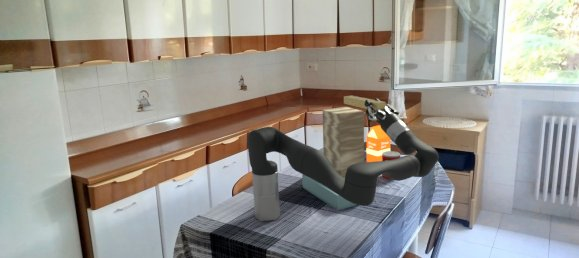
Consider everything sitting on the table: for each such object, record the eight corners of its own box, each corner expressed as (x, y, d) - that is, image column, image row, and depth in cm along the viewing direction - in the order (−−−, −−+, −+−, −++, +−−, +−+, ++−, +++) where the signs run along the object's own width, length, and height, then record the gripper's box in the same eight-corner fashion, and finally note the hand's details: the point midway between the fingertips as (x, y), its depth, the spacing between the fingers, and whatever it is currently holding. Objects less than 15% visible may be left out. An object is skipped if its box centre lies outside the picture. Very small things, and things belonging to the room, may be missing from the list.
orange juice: (390, 164, 205) (390, 125, 200) (377, 168, 200) (377, 128, 196) (378, 160, 211) (378, 122, 207) (366, 164, 207) (366, 125, 202)
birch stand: (364, 182, 182) (364, 111, 175) (341, 188, 177) (340, 114, 170) (346, 173, 195) (345, 106, 187) (324, 178, 190) (322, 109, 182)
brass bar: (385, 109, 156) (385, 102, 156) (376, 111, 155) (377, 103, 154) (351, 102, 176) (351, 95, 175) (343, 103, 174) (343, 96, 173)
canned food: (387, 172, 194) (388, 150, 191) (403, 176, 188) (403, 153, 186) (378, 177, 189) (378, 153, 186) (394, 180, 183) (394, 157, 181)
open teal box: (360, 204, 160) (360, 189, 159) (337, 210, 155) (337, 195, 154) (323, 182, 184) (323, 170, 183) (302, 187, 180) (302, 174, 178)
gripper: (415, 118, 150) (388, 91, 161) (383, 124, 144) (358, 94, 155) (407, 134, 155) (382, 106, 166) (376, 139, 149) (352, 110, 160)
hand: (370, 100), depth 160 cm, fingers closed on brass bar, 4 cm apart
